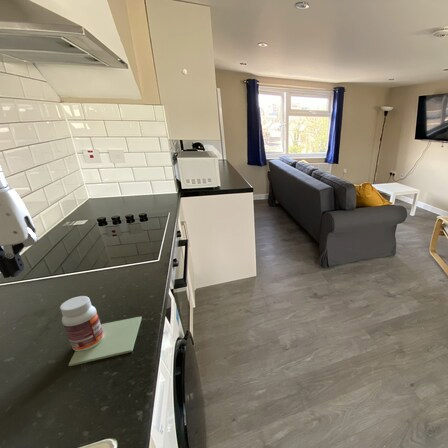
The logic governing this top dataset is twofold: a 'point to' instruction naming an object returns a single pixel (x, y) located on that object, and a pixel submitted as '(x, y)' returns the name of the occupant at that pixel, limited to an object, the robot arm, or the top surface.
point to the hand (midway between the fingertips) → (14, 273)
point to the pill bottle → (81, 323)
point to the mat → (111, 341)
